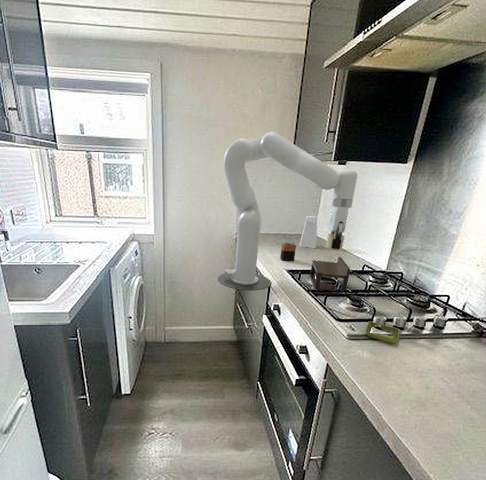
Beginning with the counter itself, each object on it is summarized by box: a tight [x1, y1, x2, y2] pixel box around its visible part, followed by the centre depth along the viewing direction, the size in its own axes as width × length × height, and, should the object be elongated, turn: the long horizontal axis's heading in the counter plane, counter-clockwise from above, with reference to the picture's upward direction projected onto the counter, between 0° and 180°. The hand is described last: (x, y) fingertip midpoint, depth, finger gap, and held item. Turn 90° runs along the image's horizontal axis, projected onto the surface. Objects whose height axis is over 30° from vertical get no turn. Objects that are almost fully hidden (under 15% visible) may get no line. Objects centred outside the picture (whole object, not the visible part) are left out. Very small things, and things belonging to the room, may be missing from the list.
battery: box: [279, 241, 297, 262], centre depth 168 cm, size 4×7×10 cm, turn 96°
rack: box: [309, 256, 351, 292], centre depth 132 cm, size 12×20×11 cm, turn 168°
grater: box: [299, 215, 319, 249], centre depth 204 cm, size 10×10×20 cm
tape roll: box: [325, 233, 345, 251], centre depth 126 cm, size 6×6×6 cm
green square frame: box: [365, 320, 401, 344], centre depth 91 cm, size 9×9×2 cm
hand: (334, 246), depth 127 cm, fingers closed on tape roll, 6 cm apart
